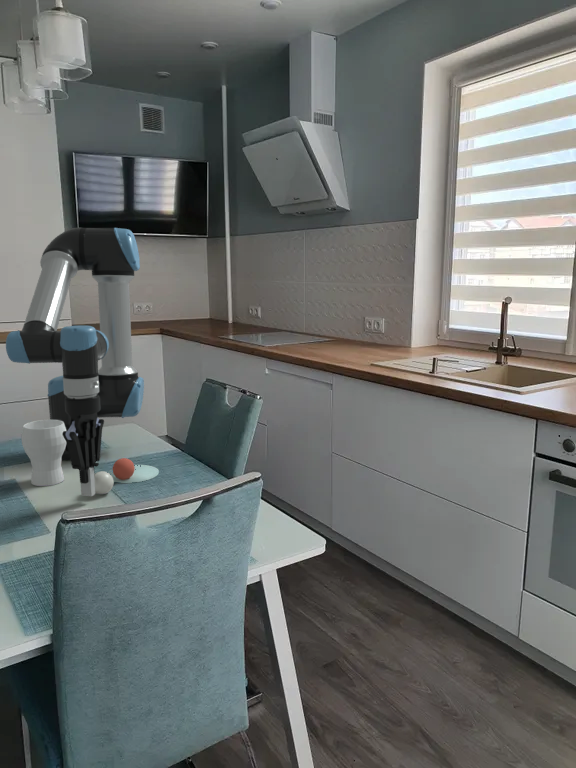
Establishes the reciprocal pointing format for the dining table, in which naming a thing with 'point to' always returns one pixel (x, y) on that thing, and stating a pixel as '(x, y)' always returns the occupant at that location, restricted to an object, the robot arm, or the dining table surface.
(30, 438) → the cup
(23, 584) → the dining table surface
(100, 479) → the cue ball
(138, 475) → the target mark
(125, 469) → the object ball
